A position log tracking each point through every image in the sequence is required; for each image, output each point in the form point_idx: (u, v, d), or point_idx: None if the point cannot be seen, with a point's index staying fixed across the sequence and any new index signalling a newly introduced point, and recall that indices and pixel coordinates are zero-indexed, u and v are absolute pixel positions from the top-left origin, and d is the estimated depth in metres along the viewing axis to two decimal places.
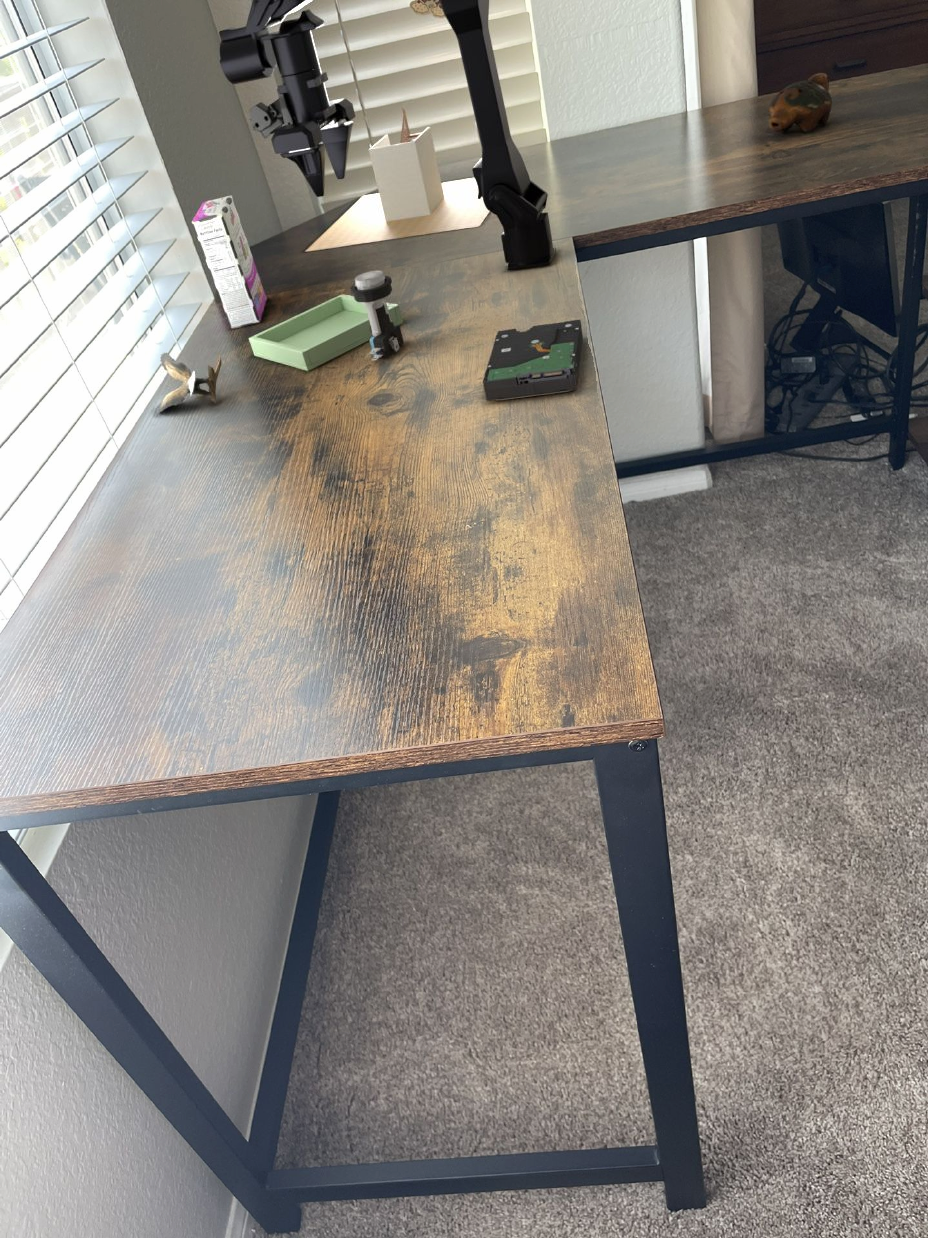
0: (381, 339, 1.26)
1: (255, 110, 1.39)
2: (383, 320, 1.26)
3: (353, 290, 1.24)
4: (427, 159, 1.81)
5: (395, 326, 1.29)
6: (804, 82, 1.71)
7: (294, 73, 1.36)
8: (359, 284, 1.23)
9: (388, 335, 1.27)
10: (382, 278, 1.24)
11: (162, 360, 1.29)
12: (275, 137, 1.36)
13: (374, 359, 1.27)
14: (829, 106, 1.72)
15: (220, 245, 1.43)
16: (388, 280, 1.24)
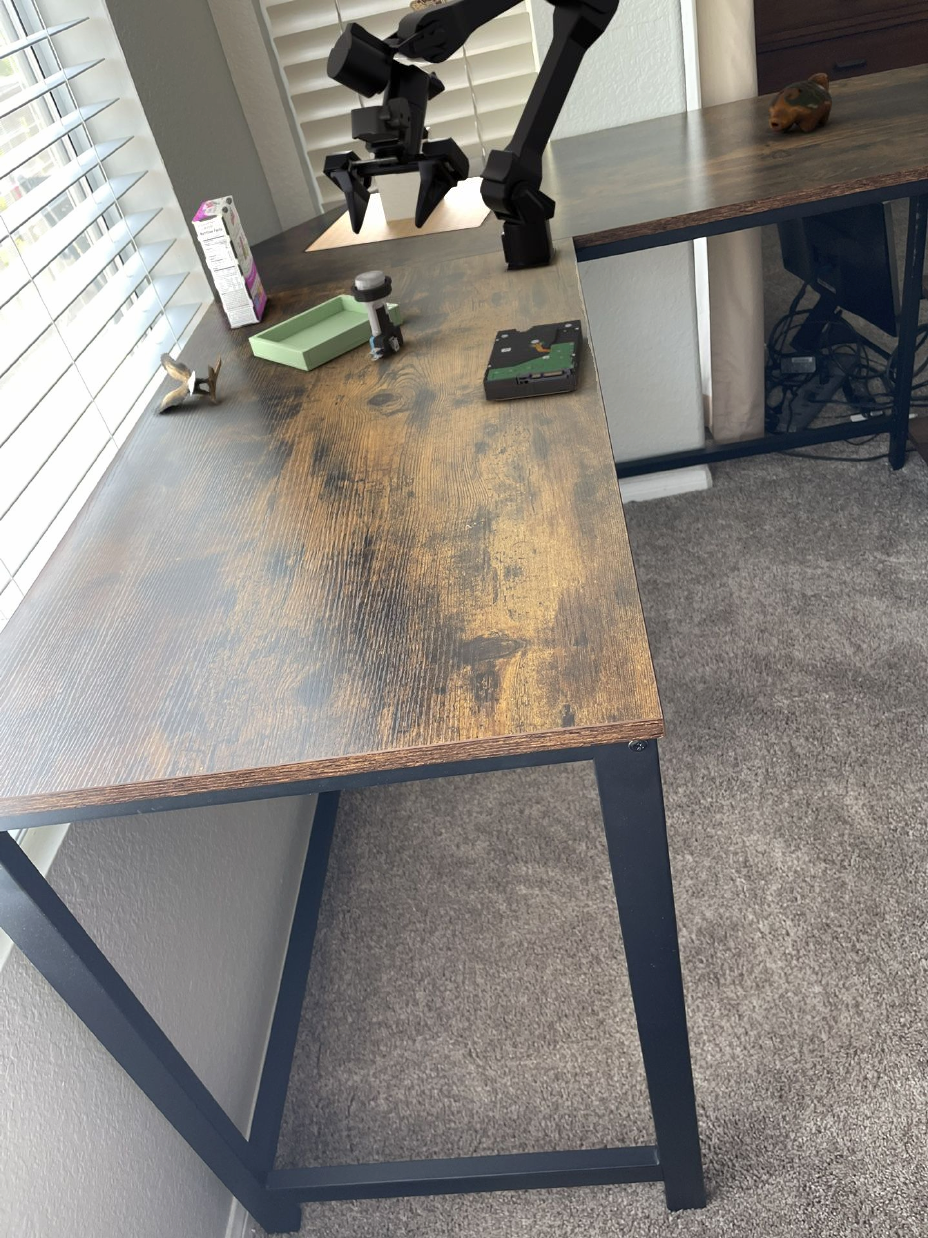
0: (381, 339, 1.26)
1: (405, 103, 1.20)
2: (383, 320, 1.26)
3: (353, 290, 1.24)
4: None
5: (395, 326, 1.29)
6: (804, 82, 1.71)
7: (424, 111, 1.27)
8: (359, 284, 1.23)
9: (388, 335, 1.27)
10: (382, 278, 1.24)
11: (162, 360, 1.29)
12: (453, 141, 1.21)
13: (374, 359, 1.27)
14: (829, 106, 1.72)
15: (220, 245, 1.43)
16: (388, 280, 1.24)
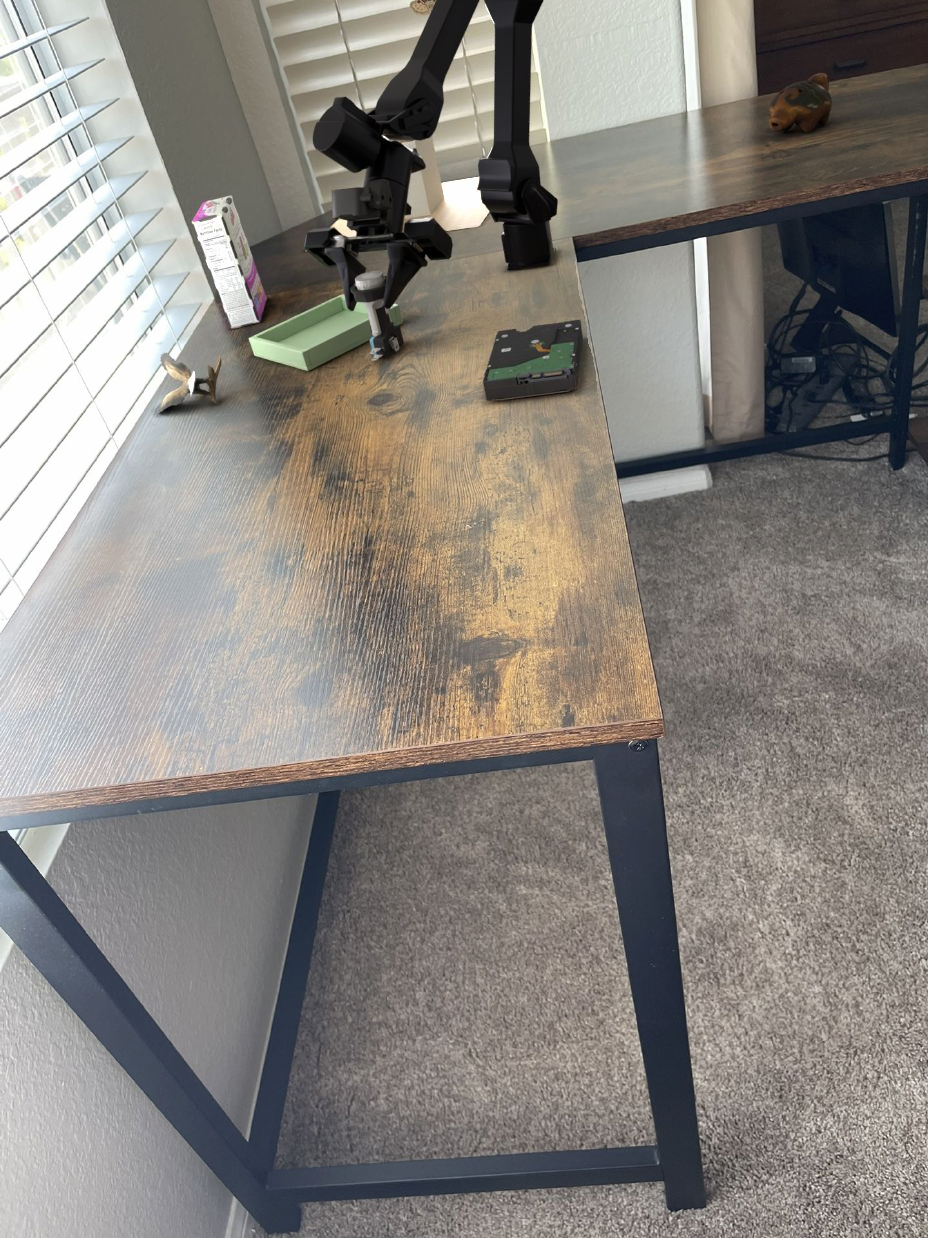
0: (381, 339, 1.26)
1: (387, 184, 1.18)
2: (383, 320, 1.26)
3: (353, 290, 1.24)
4: (427, 159, 1.81)
5: (395, 326, 1.29)
6: (804, 82, 1.71)
7: (406, 188, 1.25)
8: (359, 284, 1.23)
9: (388, 335, 1.27)
10: (382, 278, 1.24)
11: (162, 360, 1.29)
12: (436, 222, 1.19)
13: (374, 359, 1.27)
14: (829, 106, 1.72)
15: (220, 245, 1.43)
16: None
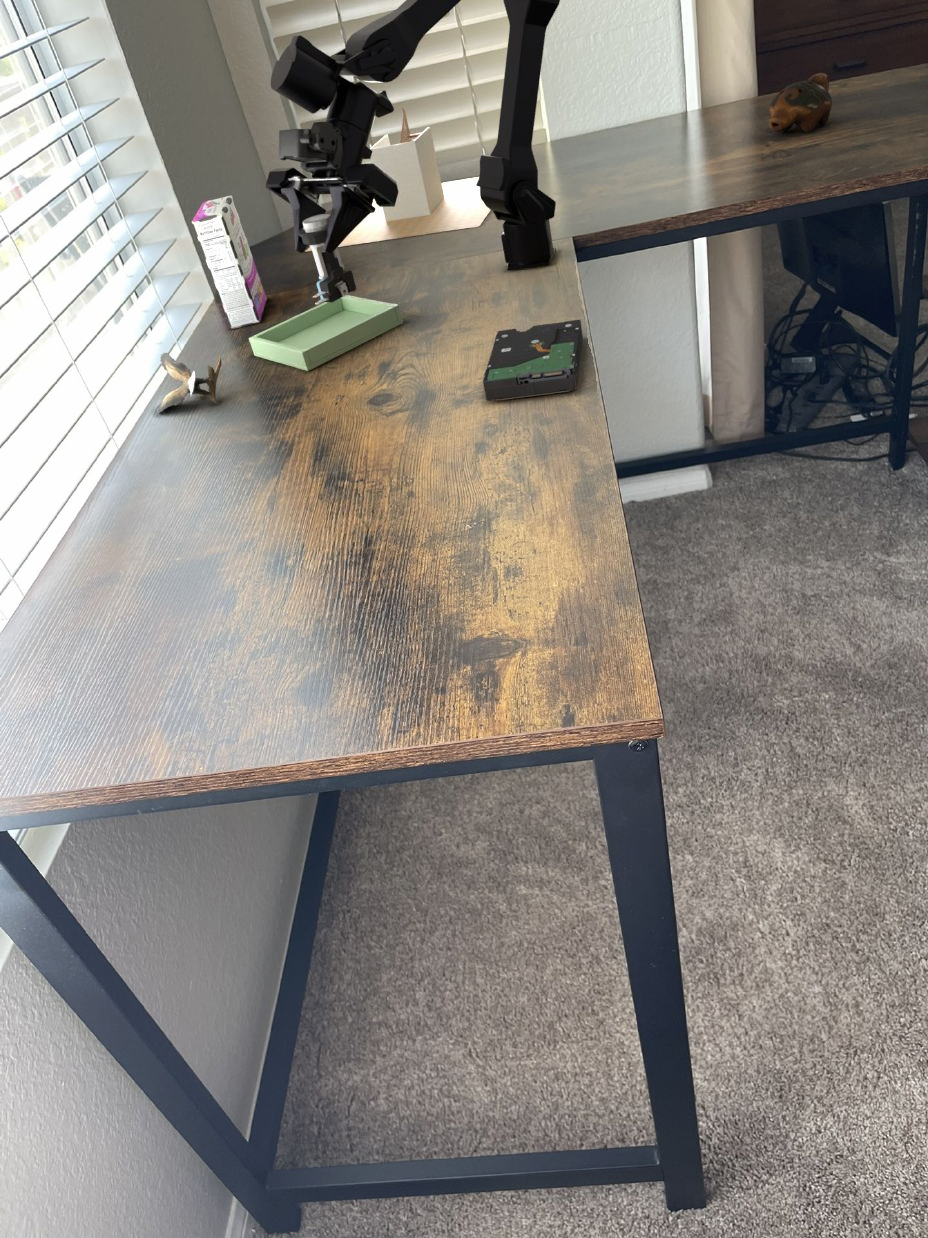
0: (326, 283, 1.27)
1: (329, 127, 1.18)
2: (330, 264, 1.27)
3: (299, 232, 1.25)
4: (427, 159, 1.81)
5: (346, 271, 1.30)
6: (804, 82, 1.71)
7: (364, 131, 1.24)
8: (305, 226, 1.25)
9: (334, 280, 1.28)
10: (328, 222, 1.24)
11: (162, 360, 1.29)
12: (374, 168, 1.18)
13: (318, 302, 1.28)
14: (829, 106, 1.72)
15: (220, 245, 1.43)
16: None
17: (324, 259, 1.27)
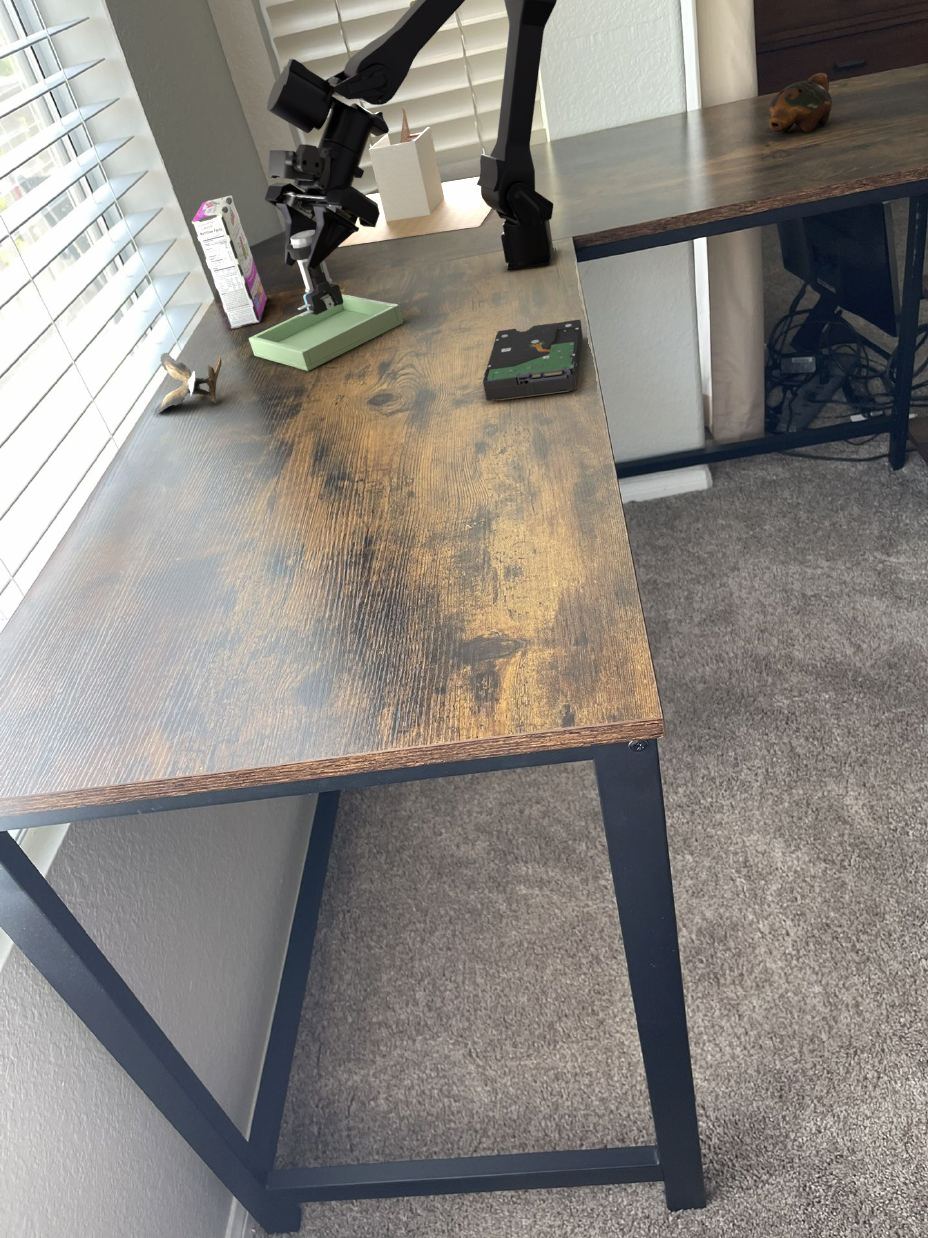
0: (310, 296, 1.33)
1: (312, 150, 1.23)
2: (315, 278, 1.32)
3: (287, 247, 1.31)
4: (427, 159, 1.81)
5: (333, 285, 1.35)
6: (804, 82, 1.71)
7: (354, 152, 1.28)
8: (292, 242, 1.30)
9: (320, 293, 1.33)
10: None
11: (162, 360, 1.29)
12: (352, 192, 1.23)
13: (302, 314, 1.34)
14: (829, 106, 1.72)
15: (220, 245, 1.43)
16: None
17: (310, 273, 1.32)
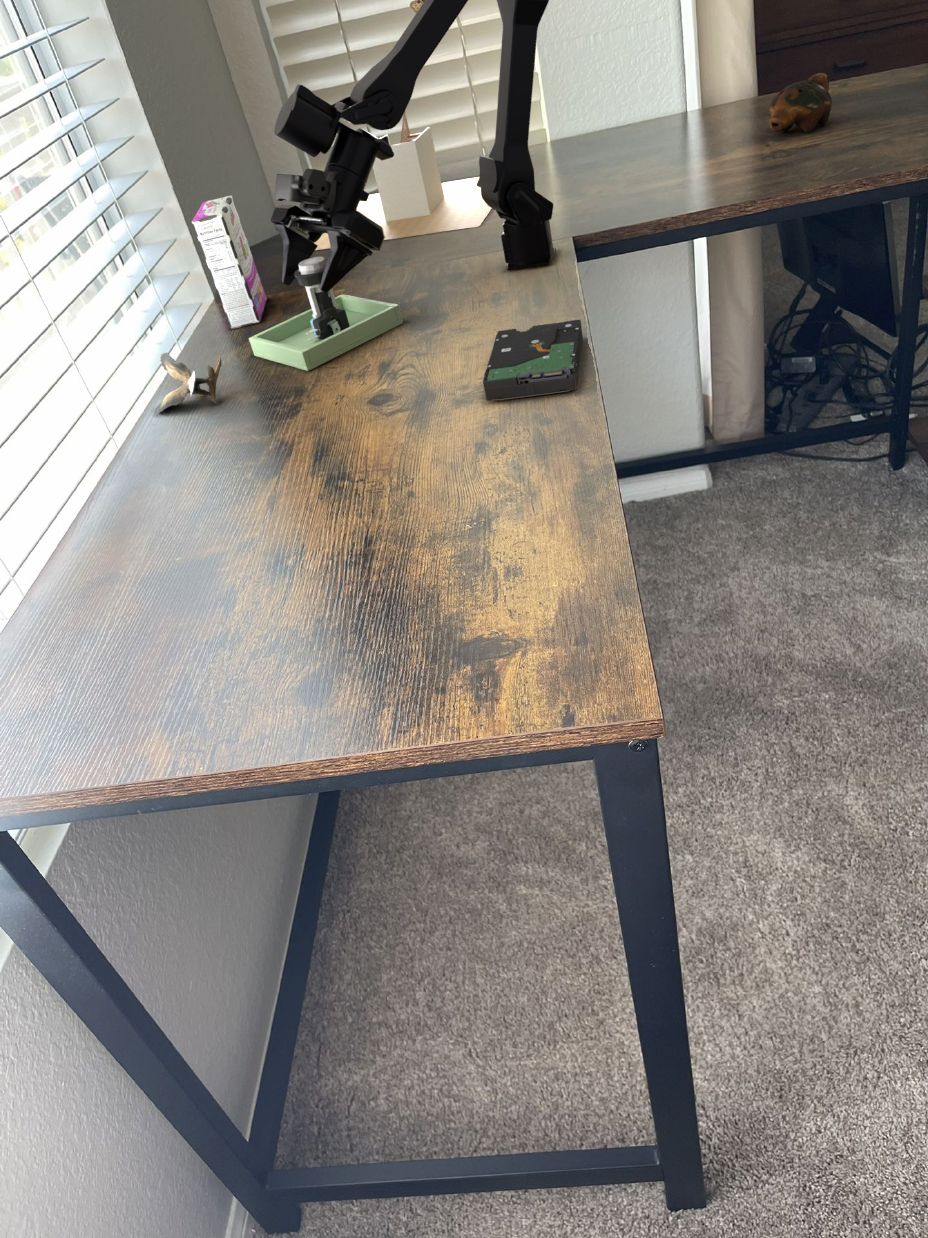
0: (317, 322, 1.35)
1: (319, 174, 1.24)
2: (322, 304, 1.35)
3: (295, 273, 1.33)
4: (427, 159, 1.81)
5: (340, 310, 1.37)
6: (804, 82, 1.71)
7: (360, 176, 1.30)
8: (300, 268, 1.32)
9: (327, 318, 1.35)
10: (321, 265, 1.32)
11: (162, 360, 1.29)
12: (358, 216, 1.24)
13: (309, 339, 1.36)
14: (829, 106, 1.72)
15: (220, 245, 1.43)
16: None
17: (317, 299, 1.34)
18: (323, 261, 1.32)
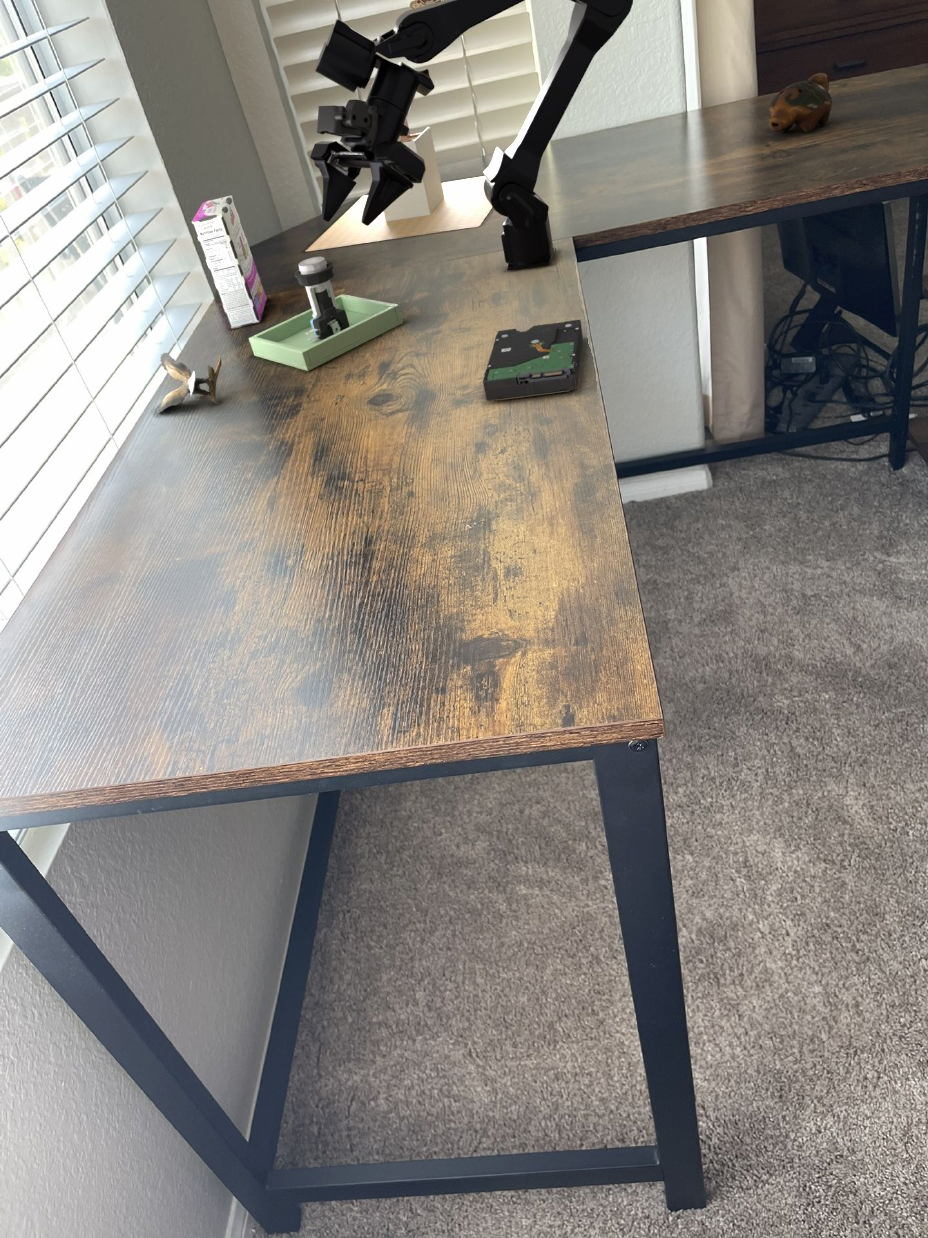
0: (317, 321, 1.35)
1: (362, 105, 1.25)
2: (322, 304, 1.35)
3: (295, 273, 1.33)
4: (427, 159, 1.81)
5: (340, 310, 1.37)
6: (804, 82, 1.71)
7: (401, 109, 1.31)
8: (300, 268, 1.32)
9: (327, 318, 1.35)
10: (321, 265, 1.32)
11: (162, 360, 1.29)
12: (401, 146, 1.25)
13: (309, 339, 1.36)
14: (829, 106, 1.72)
15: (220, 245, 1.43)
16: (327, 268, 1.32)
17: (318, 299, 1.34)
18: (323, 261, 1.32)
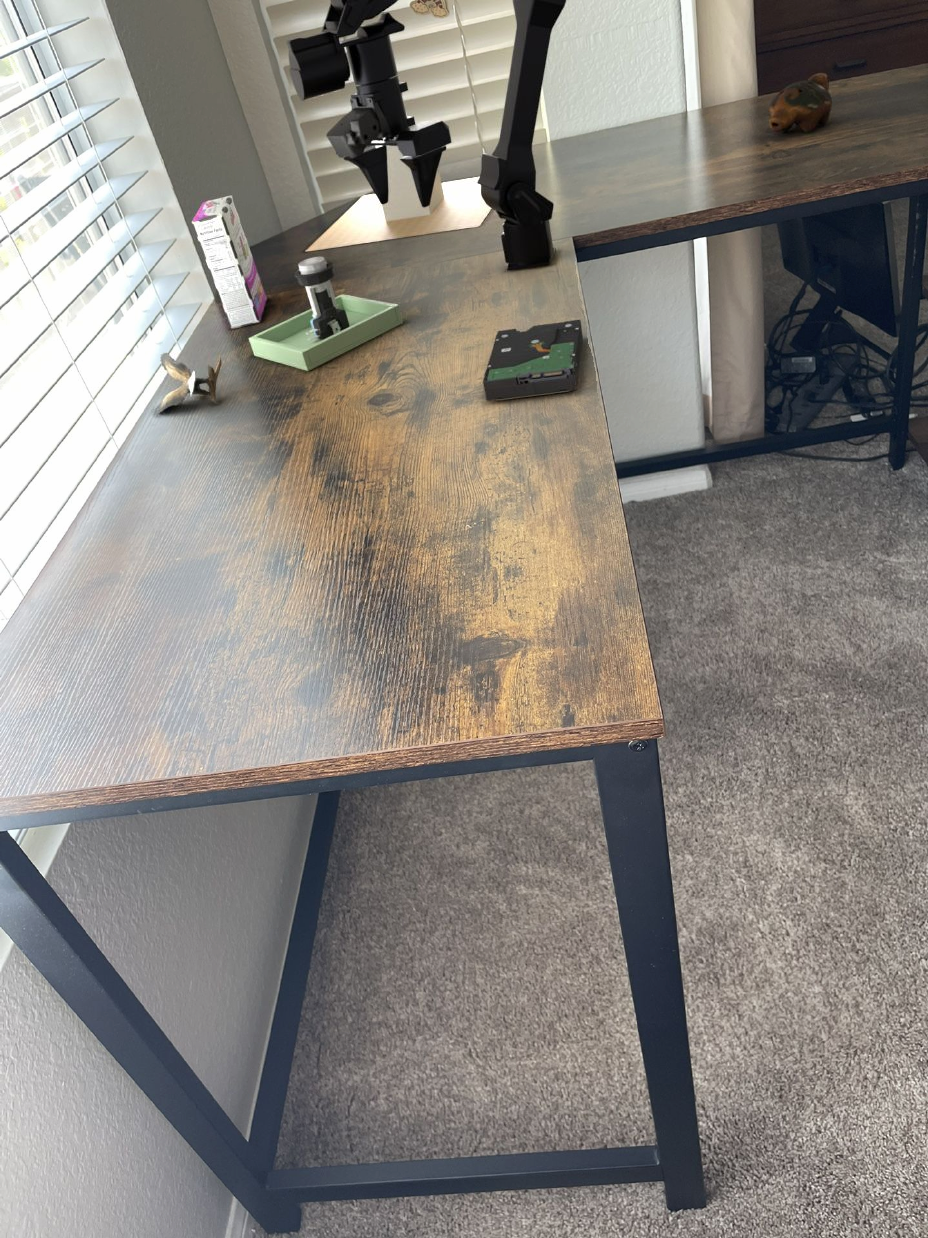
0: (317, 321, 1.35)
1: (365, 120, 1.24)
2: (322, 304, 1.35)
3: (295, 273, 1.33)
4: None
5: (340, 310, 1.37)
6: (804, 82, 1.71)
7: (391, 77, 1.26)
8: (300, 268, 1.32)
9: (327, 318, 1.35)
10: (321, 265, 1.32)
11: (162, 360, 1.29)
12: (420, 136, 1.24)
13: (309, 339, 1.36)
14: (829, 106, 1.72)
15: (220, 245, 1.43)
16: (327, 268, 1.32)
17: (318, 299, 1.34)
18: (323, 261, 1.32)
